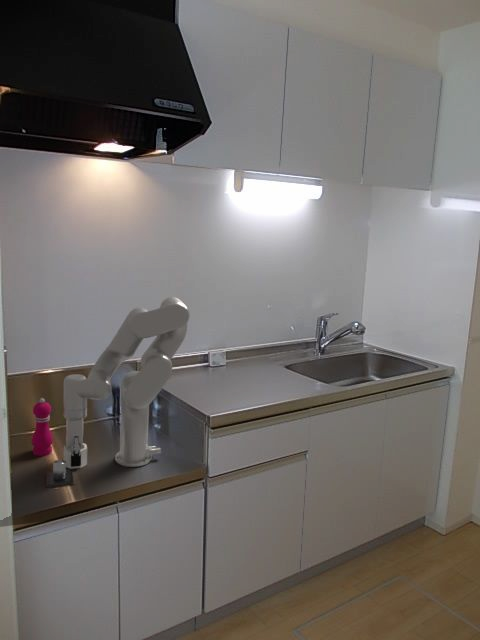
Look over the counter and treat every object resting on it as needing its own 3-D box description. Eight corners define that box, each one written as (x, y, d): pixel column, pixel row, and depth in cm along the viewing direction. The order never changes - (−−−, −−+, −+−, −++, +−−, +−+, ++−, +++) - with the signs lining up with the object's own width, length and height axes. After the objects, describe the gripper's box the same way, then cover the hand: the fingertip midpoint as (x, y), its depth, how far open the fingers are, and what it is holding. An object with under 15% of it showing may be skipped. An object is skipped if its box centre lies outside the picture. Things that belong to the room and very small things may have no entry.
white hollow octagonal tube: (85, 457, 192) (85, 441, 191) (87, 467, 185) (87, 450, 184) (63, 459, 189) (63, 443, 188) (64, 469, 183) (64, 452, 181)
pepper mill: (57, 449, 196) (57, 396, 192) (44, 458, 189) (44, 403, 185) (40, 446, 198) (39, 393, 194) (27, 454, 191) (26, 400, 187)
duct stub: (71, 472, 181) (72, 455, 180) (73, 484, 173) (73, 467, 172) (46, 475, 178) (46, 458, 177) (46, 487, 171) (46, 469, 169)
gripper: (62, 403, 190) (62, 450, 194) (64, 422, 174) (64, 473, 178) (85, 401, 193) (84, 448, 196) (89, 420, 177) (88, 471, 180)
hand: (75, 460), depth 187 cm, fingers closed on white hollow octagonal tube, 7 cm apart
